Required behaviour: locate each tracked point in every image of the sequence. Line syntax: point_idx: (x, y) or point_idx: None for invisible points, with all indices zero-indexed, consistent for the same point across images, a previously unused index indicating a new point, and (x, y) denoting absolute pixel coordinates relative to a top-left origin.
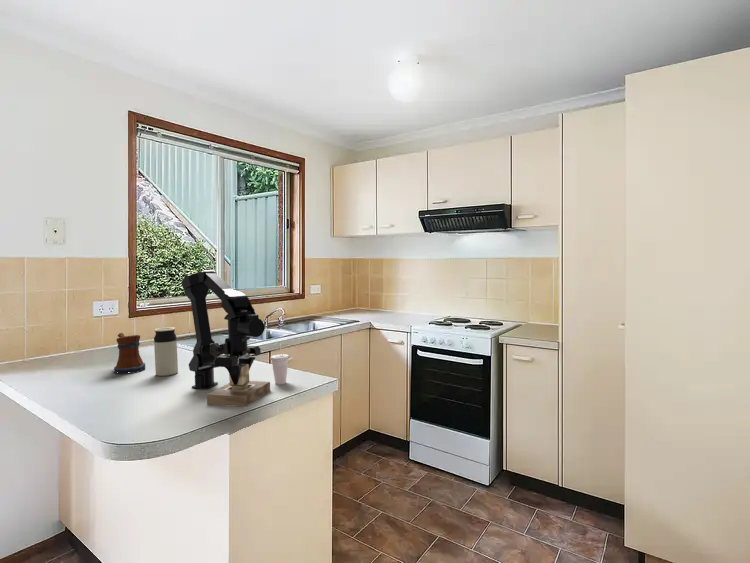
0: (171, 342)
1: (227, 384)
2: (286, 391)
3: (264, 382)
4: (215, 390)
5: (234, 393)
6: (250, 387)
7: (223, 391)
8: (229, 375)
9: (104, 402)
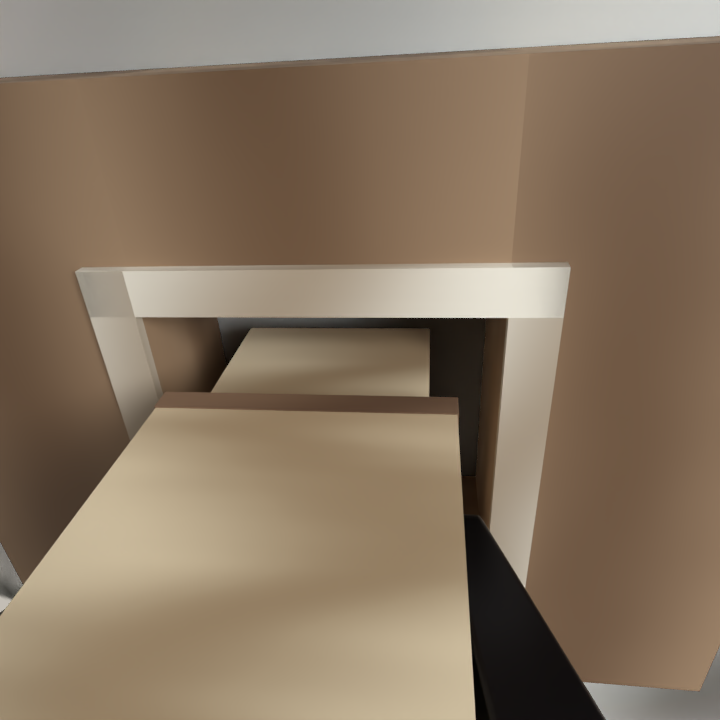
0: None
1: (506, 86)
2: (617, 699)
3: (658, 650)
4: (26, 102)
5: (74, 504)
6: None
7: (60, 309)
8: (41, 568)
9: None
